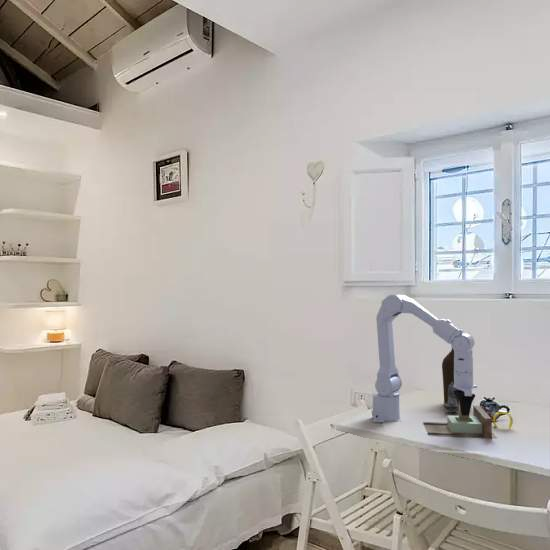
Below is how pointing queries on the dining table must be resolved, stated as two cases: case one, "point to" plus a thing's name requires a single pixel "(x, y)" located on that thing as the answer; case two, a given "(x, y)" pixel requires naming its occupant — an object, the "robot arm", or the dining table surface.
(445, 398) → the olive oil
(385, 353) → the robot arm
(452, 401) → the salt shaker
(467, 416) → the oak dowel
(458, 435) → the walnut board
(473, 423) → the sage socket block
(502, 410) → the watch
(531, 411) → the dining table surface
